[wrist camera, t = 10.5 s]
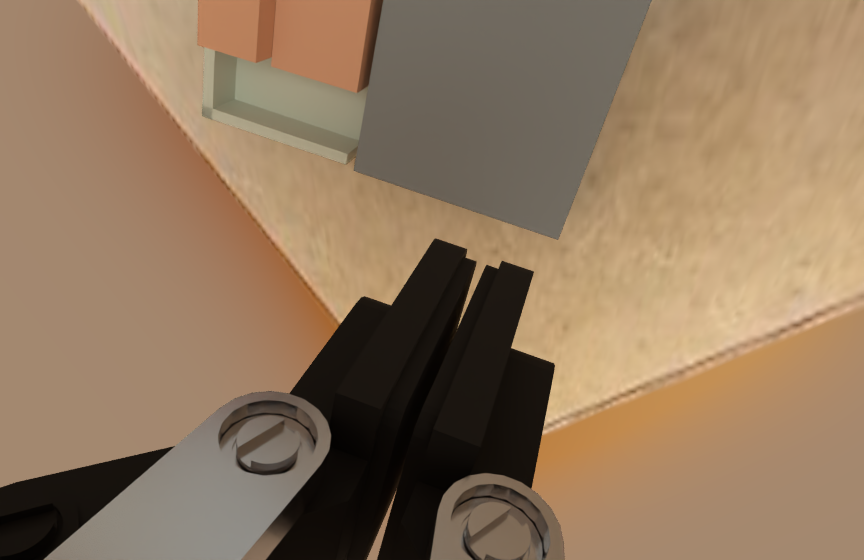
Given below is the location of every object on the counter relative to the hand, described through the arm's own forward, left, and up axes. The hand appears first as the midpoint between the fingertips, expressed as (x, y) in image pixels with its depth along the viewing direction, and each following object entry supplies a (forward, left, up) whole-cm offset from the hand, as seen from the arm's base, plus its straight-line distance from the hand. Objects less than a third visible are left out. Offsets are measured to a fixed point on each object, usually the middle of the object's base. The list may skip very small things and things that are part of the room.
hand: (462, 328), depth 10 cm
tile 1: (+14, +1, -21) cm, 25 cm away
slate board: (+3, +1, -23) cm, 24 cm away
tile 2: (+12, +1, -23) cm, 26 cm away
